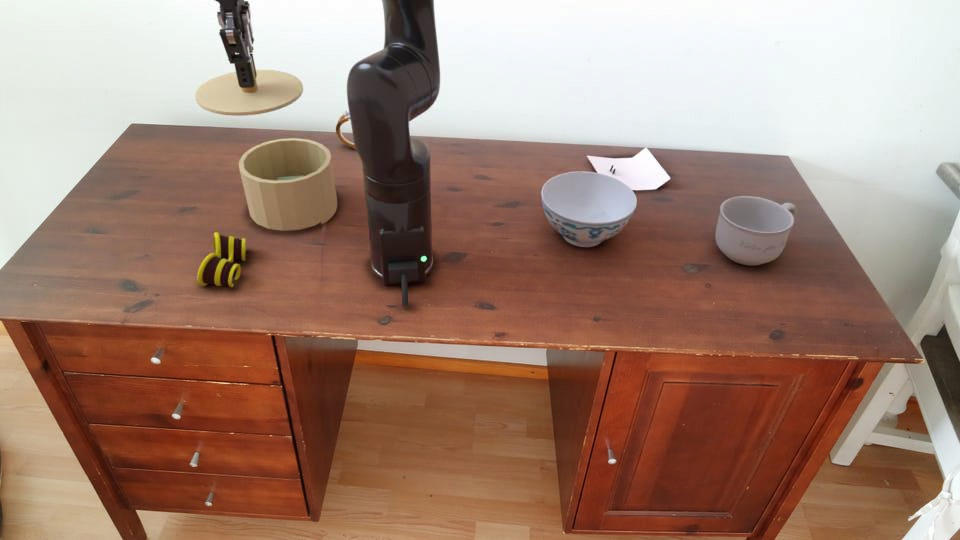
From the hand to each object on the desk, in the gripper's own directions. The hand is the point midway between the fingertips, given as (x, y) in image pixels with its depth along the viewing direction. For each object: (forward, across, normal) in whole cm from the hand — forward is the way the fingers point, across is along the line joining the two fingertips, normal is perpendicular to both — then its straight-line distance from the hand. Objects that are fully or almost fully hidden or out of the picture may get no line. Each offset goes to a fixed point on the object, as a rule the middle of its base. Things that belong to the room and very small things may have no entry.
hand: (248, 82), depth 97 cm
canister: (+23, 0, +3) cm, 23 cm away
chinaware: (+23, +14, +50) cm, 57 cm away
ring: (+23, -20, +14) cm, 34 cm away
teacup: (+23, +22, +76) cm, 83 cm away
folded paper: (+23, -4, +64) cm, 68 cm away
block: (+22, 0, +3) cm, 23 cm away
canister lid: (+2, 0, 0) cm, 2 cm away
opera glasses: (+23, +16, -6) cm, 28 cm away
